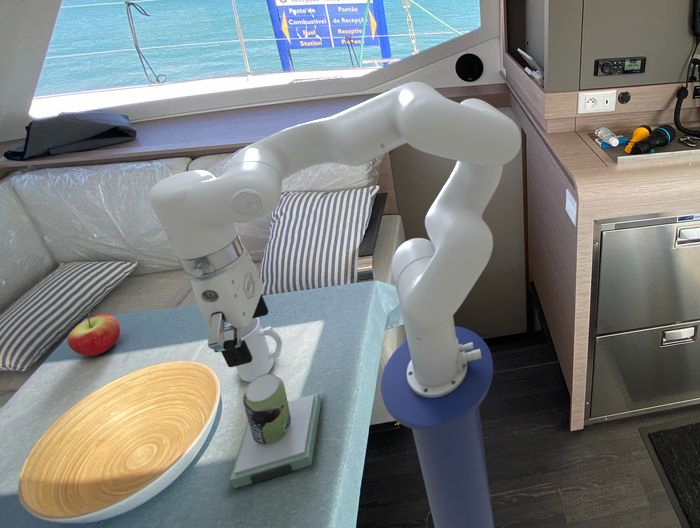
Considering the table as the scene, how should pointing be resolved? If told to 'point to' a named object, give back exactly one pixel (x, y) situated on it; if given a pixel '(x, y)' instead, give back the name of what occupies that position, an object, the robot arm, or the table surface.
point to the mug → (256, 349)
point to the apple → (94, 335)
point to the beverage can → (267, 408)
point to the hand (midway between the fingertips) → (250, 338)
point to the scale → (279, 446)
